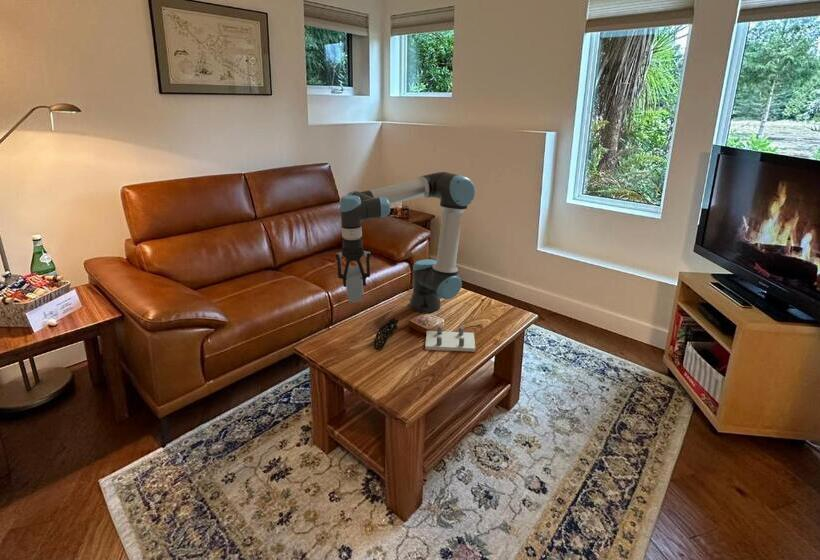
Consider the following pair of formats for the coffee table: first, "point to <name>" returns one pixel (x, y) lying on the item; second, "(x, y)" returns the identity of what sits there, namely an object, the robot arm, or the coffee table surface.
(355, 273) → the slate block
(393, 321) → the decorative element
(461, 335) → the pegboard
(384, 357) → the coffee table surface
